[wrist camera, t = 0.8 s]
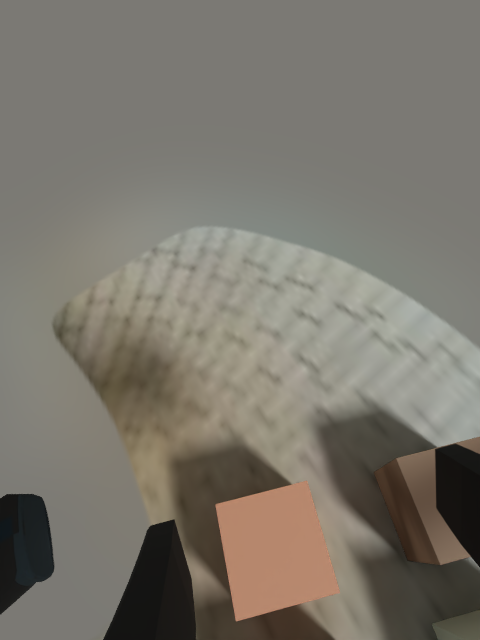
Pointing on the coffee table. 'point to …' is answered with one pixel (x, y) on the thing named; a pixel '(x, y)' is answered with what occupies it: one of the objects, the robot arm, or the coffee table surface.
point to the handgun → (23, 546)
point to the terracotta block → (274, 551)
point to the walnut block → (420, 507)
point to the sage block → (459, 627)
